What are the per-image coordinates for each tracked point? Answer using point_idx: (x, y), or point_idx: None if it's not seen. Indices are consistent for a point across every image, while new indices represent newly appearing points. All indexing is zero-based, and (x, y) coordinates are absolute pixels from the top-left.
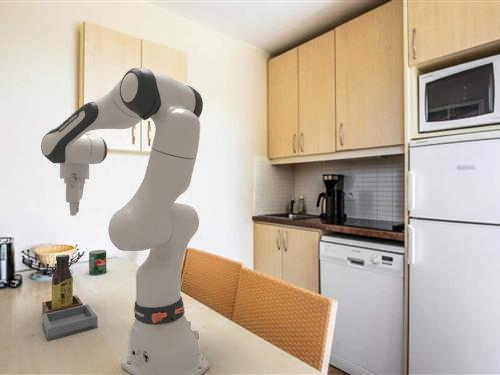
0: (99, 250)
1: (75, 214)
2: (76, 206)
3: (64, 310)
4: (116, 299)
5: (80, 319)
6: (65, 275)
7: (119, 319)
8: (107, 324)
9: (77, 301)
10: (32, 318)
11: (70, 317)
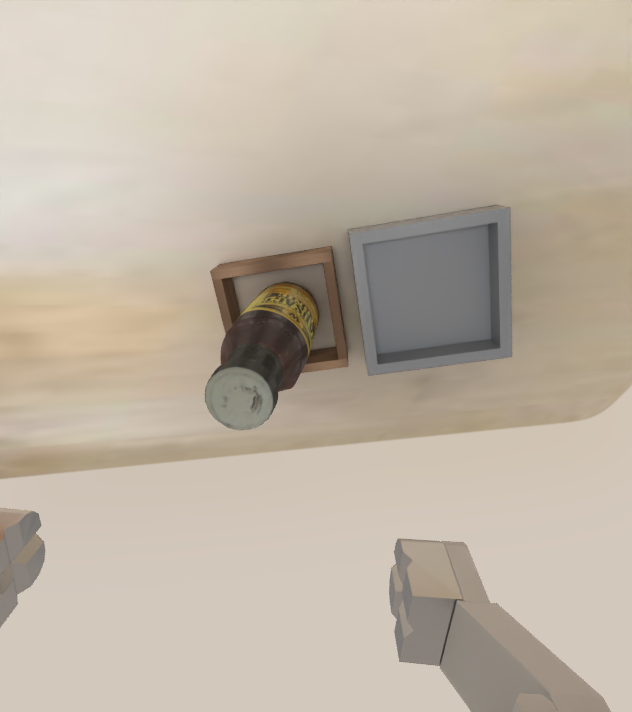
0: None
1: (464, 554)
2: (571, 673)
3: (370, 313)
4: (231, 101)
5: (500, 265)
6: (295, 348)
7: (473, 119)
8: (491, 169)
9: (281, 268)
10: (286, 389)
11: (375, 288)
